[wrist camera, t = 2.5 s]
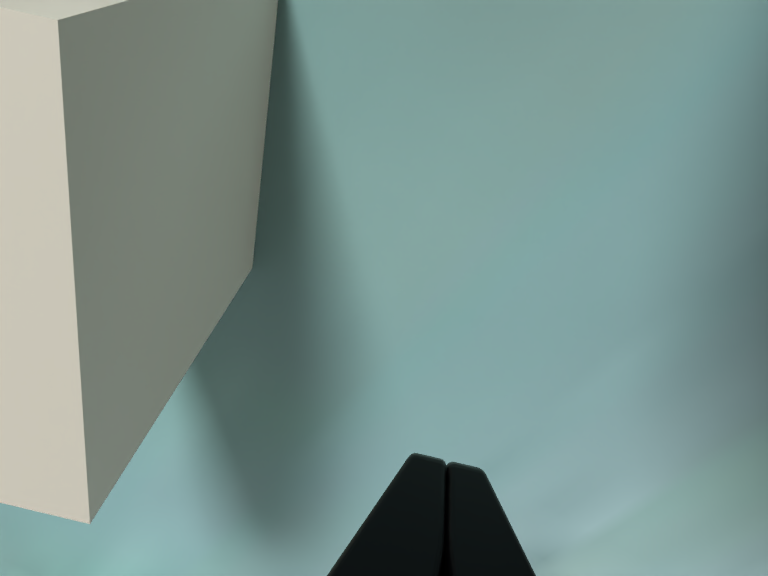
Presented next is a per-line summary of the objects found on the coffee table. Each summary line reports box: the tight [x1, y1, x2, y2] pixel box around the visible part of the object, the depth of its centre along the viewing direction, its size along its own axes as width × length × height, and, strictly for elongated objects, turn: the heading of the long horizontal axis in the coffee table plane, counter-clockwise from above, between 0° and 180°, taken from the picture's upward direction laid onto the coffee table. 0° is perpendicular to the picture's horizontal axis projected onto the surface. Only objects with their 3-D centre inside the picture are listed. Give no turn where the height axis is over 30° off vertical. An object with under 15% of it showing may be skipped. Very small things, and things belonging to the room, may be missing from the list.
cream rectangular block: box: [0, 0, 278, 524], centre depth 13 cm, size 3×8×9 cm, turn 169°
